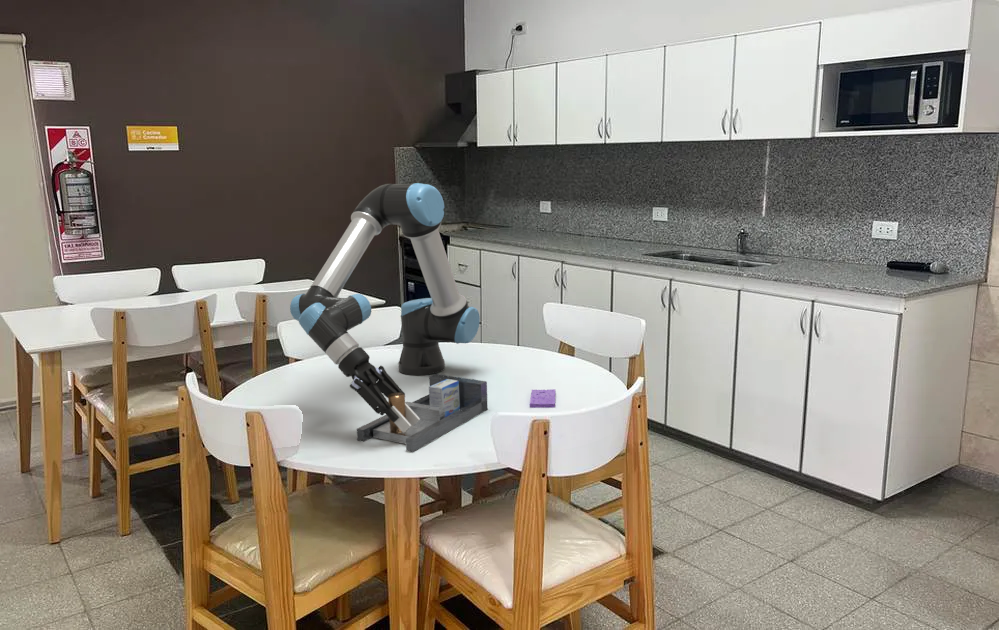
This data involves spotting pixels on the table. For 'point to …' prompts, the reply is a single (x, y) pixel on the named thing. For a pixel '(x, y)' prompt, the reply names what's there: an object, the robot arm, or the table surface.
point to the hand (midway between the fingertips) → (411, 425)
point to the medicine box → (445, 396)
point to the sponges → (543, 398)
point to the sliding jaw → (392, 431)
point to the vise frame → (470, 406)
